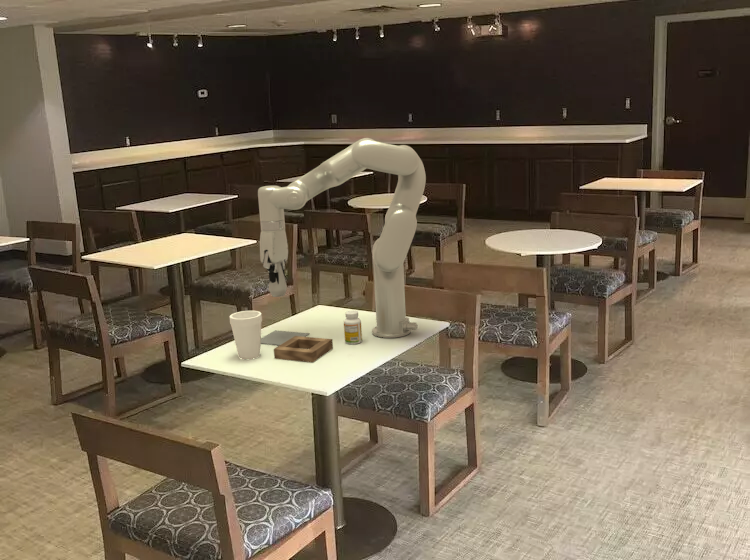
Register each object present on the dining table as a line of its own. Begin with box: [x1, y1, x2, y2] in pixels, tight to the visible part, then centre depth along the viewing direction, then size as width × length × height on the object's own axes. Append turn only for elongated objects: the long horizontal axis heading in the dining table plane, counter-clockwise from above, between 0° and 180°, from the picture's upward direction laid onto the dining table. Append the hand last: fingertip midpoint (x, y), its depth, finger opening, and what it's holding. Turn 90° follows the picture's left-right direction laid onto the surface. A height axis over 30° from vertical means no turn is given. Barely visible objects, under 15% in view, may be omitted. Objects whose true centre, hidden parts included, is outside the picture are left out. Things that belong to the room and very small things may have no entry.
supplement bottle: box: [343, 310, 363, 345], centre depth 239 cm, size 5×5×10 cm
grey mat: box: [260, 329, 310, 347], centre depth 247 cm, size 13×13×1 cm
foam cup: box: [228, 310, 263, 360], centre depth 230 cm, size 10×9×13 cm
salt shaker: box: [268, 259, 288, 298], centre depth 242 cm, size 6×6×13 cm
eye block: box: [273, 336, 334, 363], centre depth 231 cm, size 13×13×3 cm
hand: (277, 282), depth 242 cm, fingers closed on salt shaker, 3 cm apart
